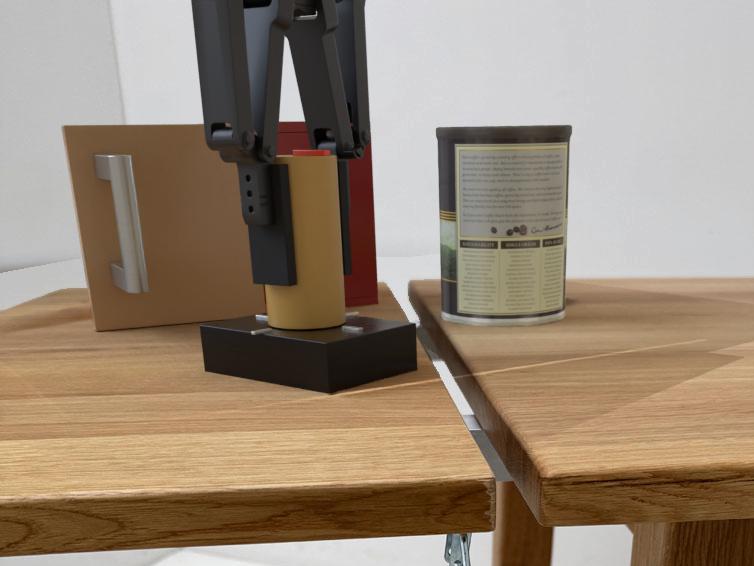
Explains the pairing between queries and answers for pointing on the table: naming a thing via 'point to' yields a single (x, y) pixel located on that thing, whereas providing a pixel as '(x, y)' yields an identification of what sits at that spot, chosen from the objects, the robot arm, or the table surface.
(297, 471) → the table surface
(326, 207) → the knob
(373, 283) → the dark red cabinet
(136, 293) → the door
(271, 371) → the dark brown base block
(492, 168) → the coffee can
